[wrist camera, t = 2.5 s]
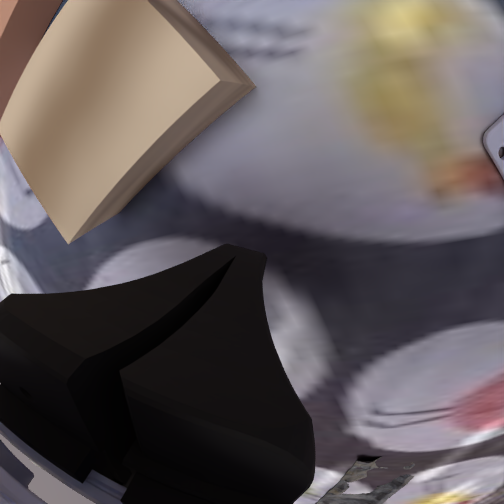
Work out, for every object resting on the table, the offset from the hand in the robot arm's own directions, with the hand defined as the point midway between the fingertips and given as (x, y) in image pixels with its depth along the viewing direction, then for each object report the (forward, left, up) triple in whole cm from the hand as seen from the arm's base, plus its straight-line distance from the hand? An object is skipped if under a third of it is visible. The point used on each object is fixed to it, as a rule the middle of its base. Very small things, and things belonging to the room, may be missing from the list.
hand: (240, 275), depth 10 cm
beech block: (+8, 0, -4) cm, 9 cm away
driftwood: (-26, +13, -4) cm, 29 cm away
